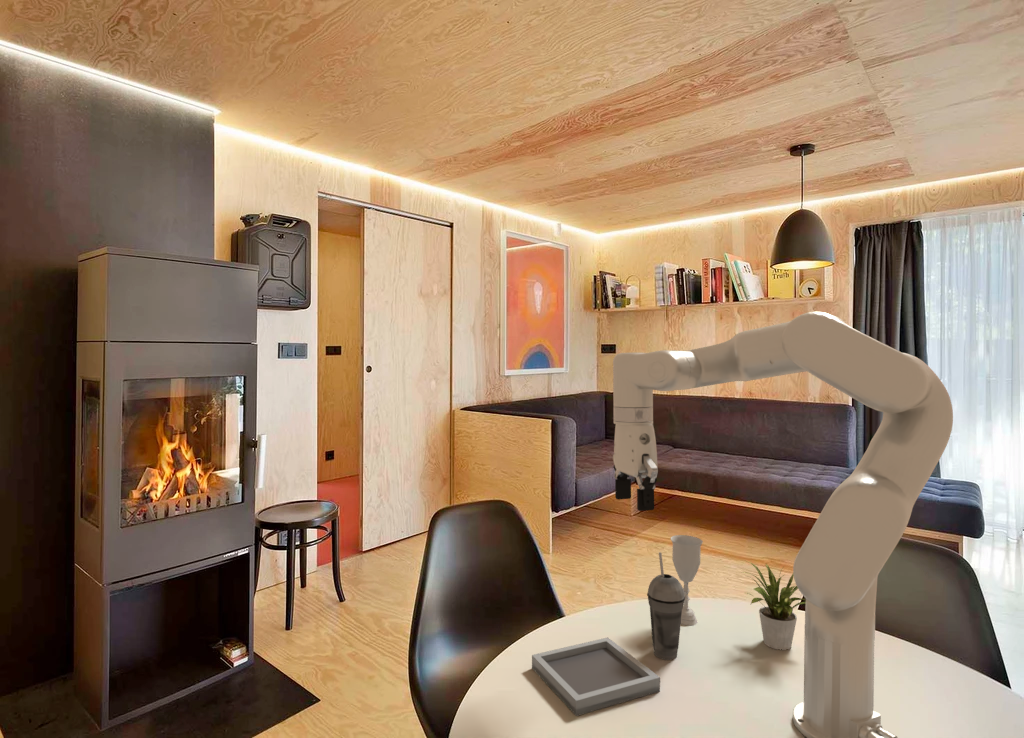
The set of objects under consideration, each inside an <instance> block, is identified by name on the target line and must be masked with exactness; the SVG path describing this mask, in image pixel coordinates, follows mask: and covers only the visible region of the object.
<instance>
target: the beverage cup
mask: <svg viewBox="0 0 1024 738" xmlns="http://www.w3.org/2000/svg"><path fill="white" fill-rule="evenodd" d="M658 558H659V566H660V567H659V568H660V574H659V575H656V576H655V577H654V578H653V579H652V580H651V581H650V583H649V585H648V588H647V593H646V595H647V601H648V605H649V611H650V612H649V613H650V627H651V629H650V630H651V640H652V641H651V642H652V649H653V654H654V656H656V657H657V658H659V659H661V660H665V661H666V660H667V661H668V660H669V661H672V660H675V659H676V658H678V651H679V644H680V635H681V634H680V633H681V625H682V624H681V615H682V609H683V605H684V600H685V596H684V590H683V588H684V586H683V585H682V583H681V582H680V581H679V580H678V579H677V578H676V577H675V576H673V575H671V574H668V573H667V574H666V573H665V572H664V566H663V555H662V552H661V551H660V552H659V551H658Z"/></svg>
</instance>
